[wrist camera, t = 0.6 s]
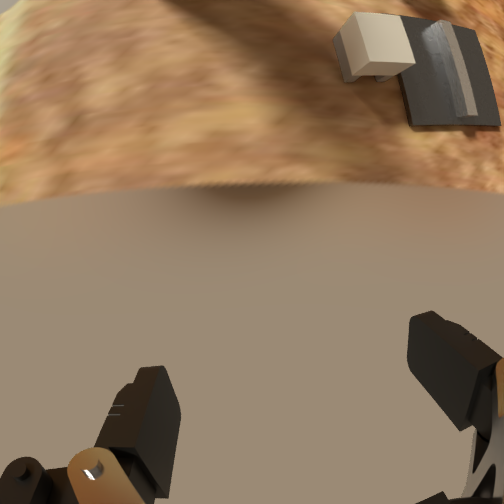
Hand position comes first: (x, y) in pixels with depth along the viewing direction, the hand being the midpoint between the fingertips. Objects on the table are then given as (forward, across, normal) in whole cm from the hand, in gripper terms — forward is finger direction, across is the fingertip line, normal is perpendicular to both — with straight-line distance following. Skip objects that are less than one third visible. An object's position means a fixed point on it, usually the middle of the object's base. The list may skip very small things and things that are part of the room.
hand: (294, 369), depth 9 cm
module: (+27, -17, -18) cm, 37 cm away
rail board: (+27, -31, -18) cm, 45 cm away
